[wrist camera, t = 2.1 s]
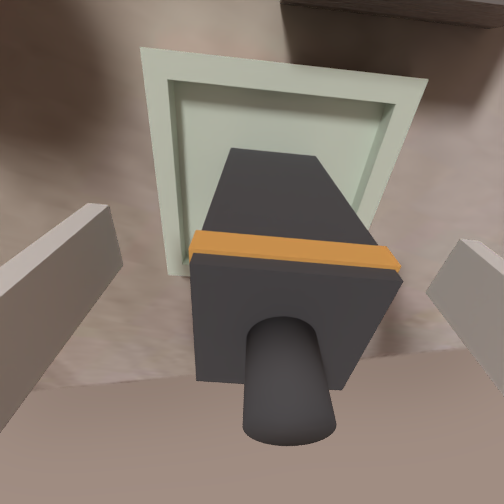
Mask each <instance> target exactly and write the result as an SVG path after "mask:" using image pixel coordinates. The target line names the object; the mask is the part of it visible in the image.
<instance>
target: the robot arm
mask: <svg viewBox="0 0 504 504" xmlns="http://www.w3.org/2000/svg"><path fill="white" fill-rule="evenodd" d="M122 266H123V261H122V257H121V253H120V249H119V245H118V240H117V236H116V232H115V228H114V224H113V220H112V216H111V211H110V207H109V205H103V204H93V203H87V204H86V205H84V206H83V207H82V208H80V209H79V210H77V211H76V212H75V213H73V214H72V215H71V216H69V217H68V218H67V219H65V220H64V221H62V222H61V223H60V224H58V225H57V226H56V227H54V228H53V229H52V230H50V231H49V232H47V233H46V234H45V235H43V236H42V237H41V238H39V239H38V240H36V241H35V242H34V243H32V244H31V245H30V246H28V247H27V248H26V249H24V250H23V251H21V252H20V253H19V254H17V255H16V256H15V257H13V258H12V259H11V260H9V261H8V262H6V263H5V264H4V265H2V266H1V267H0V433H1V431H2V430H3V428H4V427H5V426H6V424H7V423H8V422H9V420H10V419H11V417H12V416H13V415H14V413H15V412H16V410H17V409H18V408H19V407H20V405H21V404H22V402H23V401H24V400H25V398H26V397H27V396H28V394H29V393H30V392H31V390H32V389H33V387H34V386H35V385H36V383H37V382H38V381H39V379H40V378H41V377H42V375H43V374H44V372H45V371H46V370H47V368H48V367H49V366H50V364H51V363H52V362H53V360H54V359H55V357H56V356H57V355H58V353H59V352H60V351H61V349H62V348H63V347H64V345H65V344H66V342H67V341H68V340H69V338H70V337H71V336H72V334H73V333H74V332H75V330H76V329H77V327H78V326H79V325H80V323H81V322H82V321H83V319H84V318H85V317H86V315H87V314H88V312H89V311H90V310H91V308H92V307H93V306H94V304H95V303H96V302H97V300H98V299H99V297H100V296H101V295H102V293H103V292H104V291H105V289H106V288H107V287H108V285H109V284H110V282H111V281H112V280H113V278H114V277H115V276H116V274H117V273H118V272H119V270H120V269H121V267H122ZM426 294H427V295H428V296H429V298H430V299H431V300H432V302H433V303H434V304H435V306H436V307H437V308H438V310H439V311H440V312H441V314H442V315H443V316H444V318H445V319H446V320H447V322H448V323H449V324H450V326H451V327H452V328H453V330H454V331H455V332H456V334H457V335H458V336H459V338H460V339H461V340H462V342H463V343H464V344H465V346H466V347H467V348H468V350H469V351H470V352H471V354H472V355H473V356H474V358H475V359H476V360H477V362H478V363H479V364H480V366H481V367H482V368H483V370H484V371H485V372H486V373H487V375H488V376H489V378H490V379H491V380H492V381H493V383H494V384H495V386H496V387H497V388H498V390H499V391H500V392H501V393H502V395H503V396H504V259H503V258H501V257H500V256H499V255H497V254H496V253H495V252H494V251H492V250H491V249H490V248H488V247H487V246H486V245H484V244H483V243H482V242H480V241H476V240H466V239H459V241H458V242H457V244H456V246H455V247H454V249H453V250H452V252H451V253H450V255H449V256H448V258H447V260H446V261H445V263H444V264H443V266H442V267H441V269H440V270H439V272H438V274H437V275H436V277H435V278H434V280H433V281H432V283H431V284H430V286H429V288H428V289H427V291H426Z"/></svg>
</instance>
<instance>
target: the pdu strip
mask: <svg viewBox="0 0 504 504" xmlns="http://www.w3.org/2000/svg"><path fill="white" fill-rule="evenodd" d="M280 4H288V5H296V6H304V7H313V8H321V9H329V10H338V11H346V12H354V13H362V14H371V15H379V16H387V17H396V18H404V19H412V20H420V21H429V22H437V23H445V24H454V25H462V26H470V27H478V28H487V29H490V28H496V27H501V26H504V0H280Z"/></svg>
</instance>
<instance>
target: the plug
mask: <svg viewBox="0 0 504 504" xmlns="http://www.w3.org/2000/svg"><path fill="white" fill-rule="evenodd" d="M188 249H189V267H190V283H191V300H192V316H193V332H194V349H195V365H196V381H206V382H222V383H238V384H244V408H243V430H244V432H245V433H246V434H247V435H248V436H249V437H251V438H252V439H254V440H256V441H259V442H262V443H266V444H271V445H278V446H298V445H305V444H310V443H314V442H317V441H320V440H323V439H325V438H327V437H328V436H330V435H331V434H332V433H333V432H334V431H335V429H336V421H335V416H334V411H333V407H332V403H331V398H330V394H329V390H342V389H343V388H344V386H345V384H346V382H347V380H348V379H349V377H350V375H351V373H352V372H353V370H354V368H355V366H356V365H357V363H358V361H359V359H360V357H361V356H362V354H363V352H364V350H365V349H366V347H367V345H368V343H369V341H370V340H371V338H372V336H373V334H374V333H375V331H376V329H377V327H378V325H379V324H380V322H381V320H382V318H383V317H384V315H385V313H386V311H387V309H388V308H389V306H390V304H391V302H392V301H393V299H394V297H395V295H396V294H397V292H398V290H399V288H400V286H401V285H402V283H403V280H402V279H401V277H400V276H399V274H398V272H399V270H400V268H401V265H400V264H399V263H398V261H397V260H396V259H395V257H394V256H393V255H392V253H391V252H390V251H389V249H388V248H387V246H378V244H377V243H376V242H375V240H374V239H373V237H372V236H371V234H370V233H369V231H368V230H367V229H366V227H365V226H364V224H363V223H362V221H361V220H360V219H359V217H358V216H357V214H356V213H355V211H354V210H353V209H352V207H351V206H350V204H349V203H348V201H347V200H346V199H345V197H344V196H343V194H342V193H341V191H340V190H339V189H338V187H337V186H336V184H335V183H334V181H333V180H332V179H331V177H330V176H329V174H328V173H327V171H326V170H325V168H324V167H323V166H322V164H321V163H320V161H319V160H318V158H317V157H316V156H311V155H301V154H291V153H281V152H271V151H260V150H250V149H240V148H231V149H230V151H229V154H228V157H227V160H226V163H225V165H224V168H223V171H222V174H221V177H220V179H219V182H218V185H217V188H216V191H215V193H214V196H213V199H212V202H211V205H210V207H209V210H208V213H207V216H206V219H205V221H204V224H203V227H202V230H196V231H195V233H194V236H193V238H192V241H191V243H190V246H189V248H188Z"/></svg>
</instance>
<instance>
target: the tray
mask: <svg viewBox="0 0 504 504" xmlns="http://www.w3.org/2000/svg"><path fill="white" fill-rule="evenodd" d="M140 52H141V60H142V68H143V76H144V84H145V92H146V100H147V108H148V117H149V125H150V133H151V141H152V149H153V157H154V165H155V173H156V181H157V189H158V197H159V205H160V213H161V222H162V230H163V238H164V246H165V254H166V262H167V270H168V275H175V276H187V277H190V267H189V249H188V248H189V246H190V243H191V241H192V238H193V236H194V233H195V231H196V230H202V227H203V224H204V221H205V219H206V216H207V213H208V210H209V207H210V205H211V202H212V199H213V196H214V193H215V191H216V188H217V185H218V182H219V179H220V177H221V174H222V171H223V168H224V165H225V163H226V160H227V157H228V154H229V151H230V149H231V148H240V149H250V150H260V151H271V152H281V153H291V154H301V155H311V156H316V157H317V158H318V160H319V161H320V163H321V164H322V166H323V167H324V168H325V170H326V171H327V173H328V174H329V176H330V177H331V179H332V180H333V181H334V183H335V184H336V186H337V187H338V189H339V190H340V191H341V193H342V194H343V196H344V197H345V199H346V200H347V201H348V203H349V204H350V206H351V207H352V209H353V210H354V211H355V213H356V214H357V216H358V217H359V219H360V220H361V221H362V223H363V224H364V226H365V227H366V229H367V230H369V227H370V225H371V222H372V220H373V217H374V215H375V212H376V210H377V207H378V205H379V202H380V200H381V197H382V195H383V192H384V190H385V187H386V185H387V182H388V180H389V177H390V175H391V172H392V170H393V167H394V165H395V162H396V160H397V157H398V155H399V152H400V150H401V147H402V145H403V142H404V140H405V137H406V135H407V132H408V130H409V127H410V125H411V122H412V120H413V117H414V115H415V112H416V110H417V107H418V105H419V102H420V100H421V97H422V95H423V92H424V90H425V88H426V85H427V83H428V80H429V79H423V78H414V77H405V76H396V75H387V74H378V73H369V72H360V71H351V70H342V69H333V68H324V67H316V66H307V65H298V64H289V63H280V62H271V61H262V60H253V59H244V58H235V57H226V56H217V55H209V54H200V53H191V52H182V51H173V50H164V49H155V48H146V47H140Z"/></svg>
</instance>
